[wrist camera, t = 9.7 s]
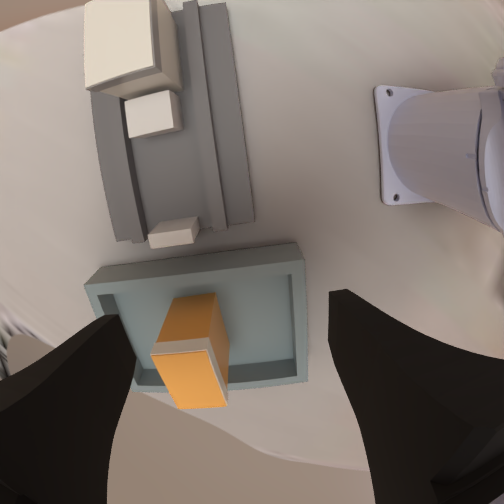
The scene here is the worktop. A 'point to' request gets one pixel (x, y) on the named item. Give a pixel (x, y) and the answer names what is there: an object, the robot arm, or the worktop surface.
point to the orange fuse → (194, 352)
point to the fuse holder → (178, 143)
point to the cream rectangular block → (131, 48)
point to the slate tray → (231, 306)
